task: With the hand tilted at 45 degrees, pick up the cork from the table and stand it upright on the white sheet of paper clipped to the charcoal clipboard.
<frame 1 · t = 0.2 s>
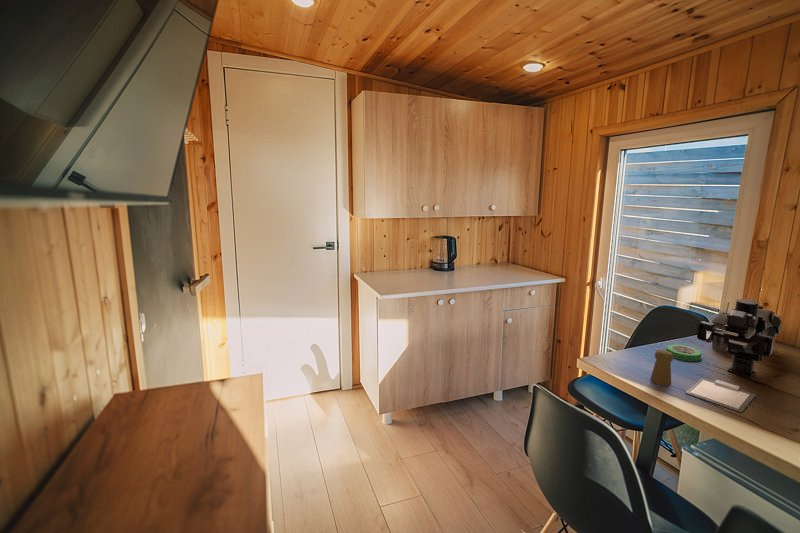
hand: (724, 345, 120), 17 cm above the table, tool horizontal, fingers open, 9 cm apart
tape roll: (682, 356, 152), on the table
cork: (660, 381, 132), on the table
coffeepot: (749, 347, 159), on the table
beverage cup: (718, 349, 157), on the table
clipboard: (719, 394, 123), on the table
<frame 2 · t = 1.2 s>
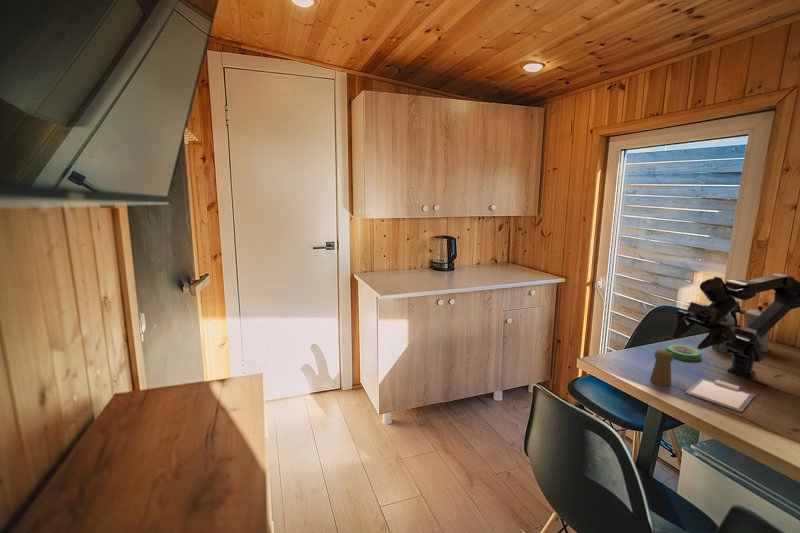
hand: (685, 343, 130), 13 cm above the table, tool tilted 45°, fingers open, 9 cm apart
nothing on the table moved.
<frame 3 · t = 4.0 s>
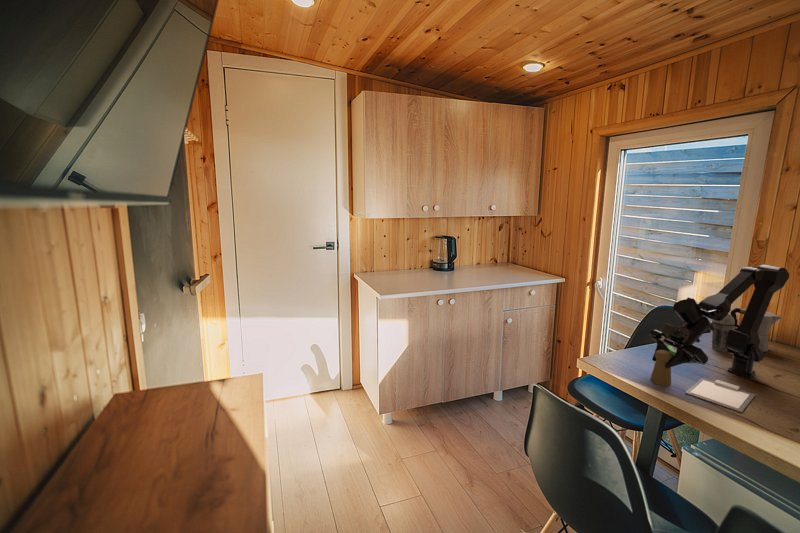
hand: (659, 363, 130), 7 cm above the table, tool tilted 45°, fingers closed on cork, 5 cm apart
cork: (660, 381, 132), on the table, touching gripper
everything else where it was.
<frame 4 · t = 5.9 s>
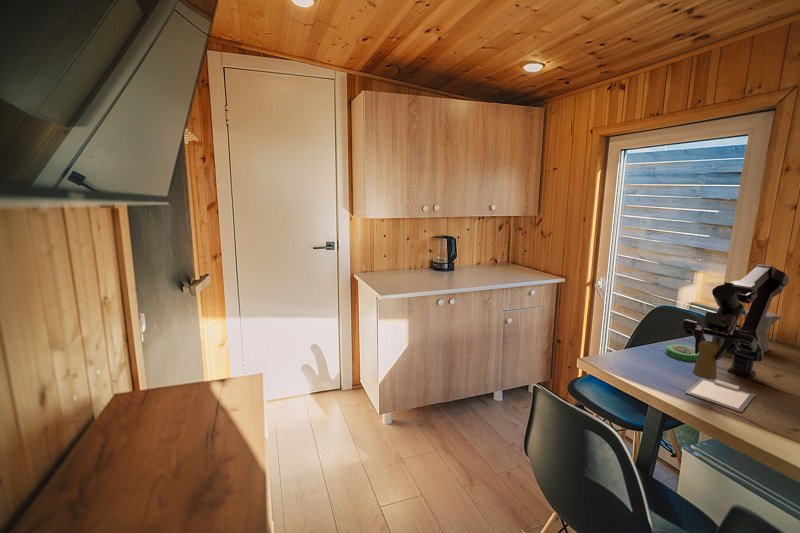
hand: (705, 356, 120), 13 cm above the table, tool tilted 45°, fingers closed on cork, 5 cm apart
cork: (704, 375, 122), point 6 cm above the table, touching gripper
everything else where it was.
when the fingers open (8 cm above the table, at t = 8.2 s): cork drops 1 cm, resting on clipboard.
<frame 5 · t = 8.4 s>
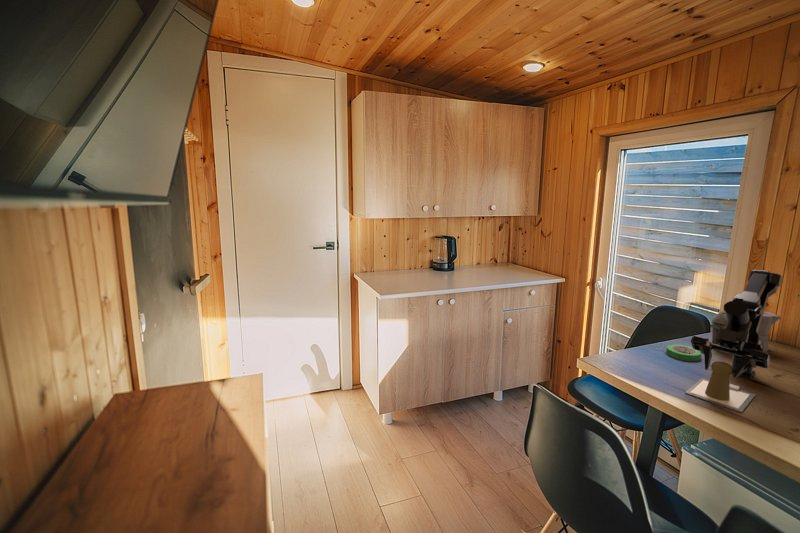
hand: (719, 373, 118), 9 cm above the table, tool tilted 45°, fingers open, 7 cm apart
cork: (717, 395, 121), resting on clipboard
everything else where it was.
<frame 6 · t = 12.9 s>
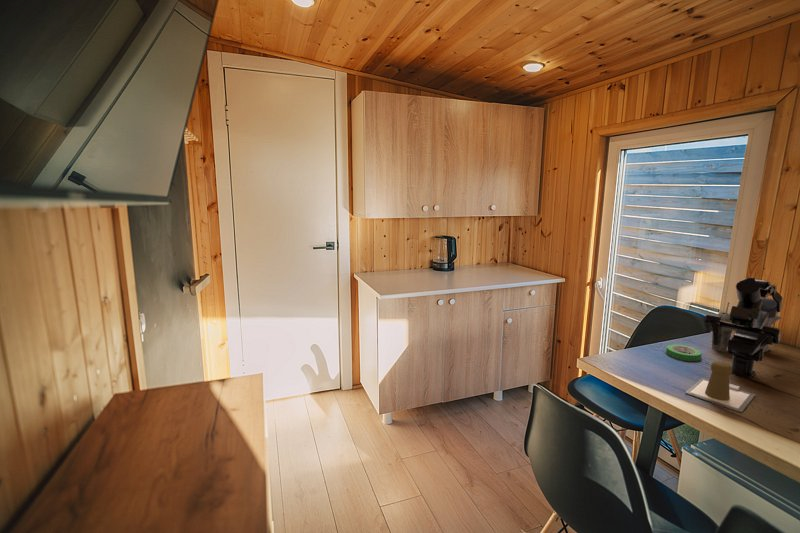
hand: (732, 349, 124), 14 cm above the table, tool tilted 45°, fingers open, 9 cm apart
nothing on the table moved.
at the end: cork inside the target area (0.2 cm from its centre), resting on clipboard; cork tilted 0°; the gripper is holding nothing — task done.
